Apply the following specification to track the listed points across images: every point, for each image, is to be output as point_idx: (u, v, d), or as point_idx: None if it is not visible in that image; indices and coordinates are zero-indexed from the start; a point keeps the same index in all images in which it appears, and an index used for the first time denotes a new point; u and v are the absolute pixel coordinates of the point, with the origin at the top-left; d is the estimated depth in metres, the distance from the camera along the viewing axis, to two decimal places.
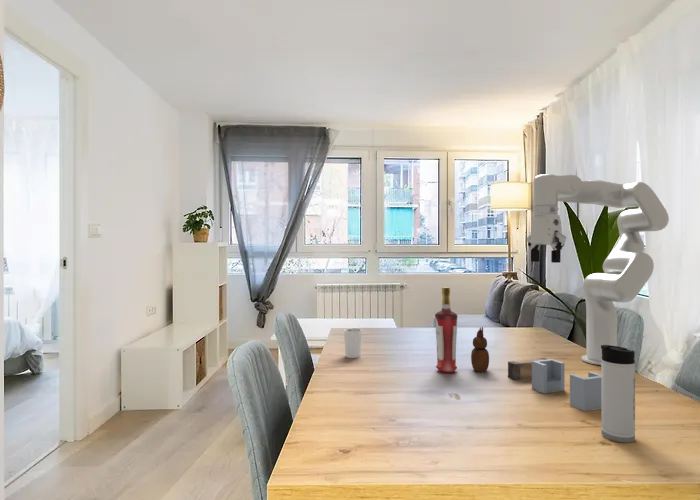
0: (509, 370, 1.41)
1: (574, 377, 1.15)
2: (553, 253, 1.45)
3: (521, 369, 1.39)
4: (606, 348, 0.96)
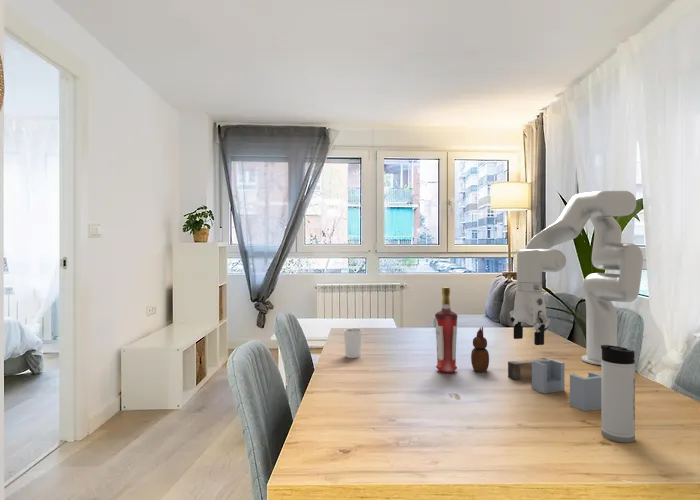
0: (509, 370, 1.41)
1: (574, 377, 1.15)
2: (536, 335, 1.36)
3: (521, 369, 1.39)
4: (606, 348, 0.96)
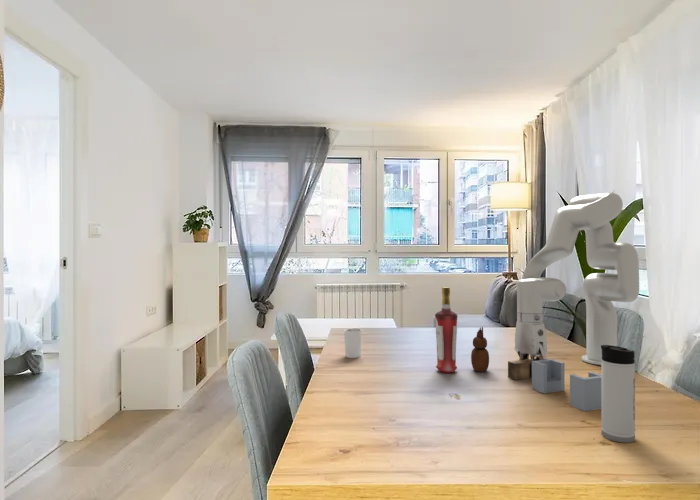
0: (509, 370, 1.41)
1: (574, 377, 1.15)
2: (531, 368, 1.39)
3: (521, 369, 1.39)
4: (606, 348, 0.96)
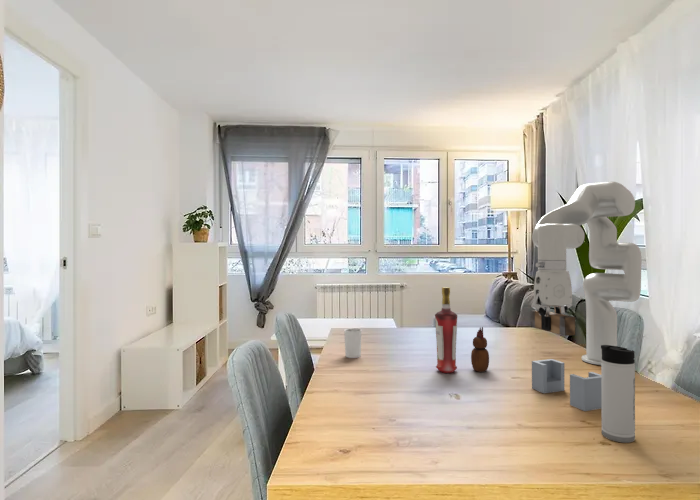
0: None
1: (574, 377, 1.15)
2: None
3: (535, 317, 1.33)
4: (606, 348, 0.96)
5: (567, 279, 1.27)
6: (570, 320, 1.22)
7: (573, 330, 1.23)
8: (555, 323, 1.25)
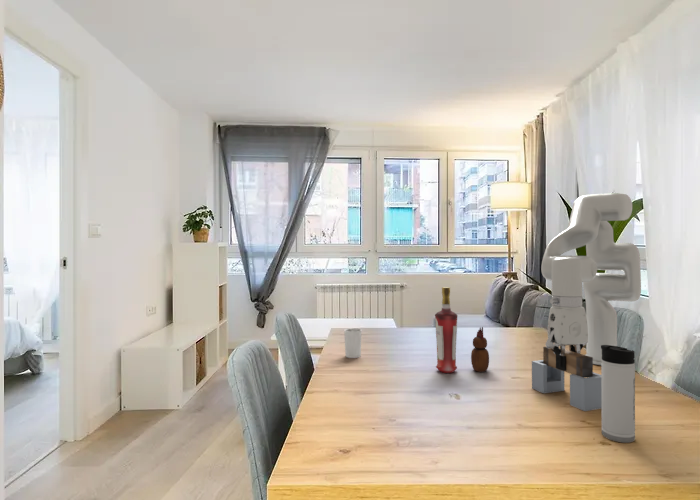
0: None
1: (574, 377, 1.15)
2: None
3: (549, 355, 1.26)
4: (606, 348, 0.96)
5: (583, 315, 1.21)
6: (587, 361, 1.15)
7: (591, 371, 1.16)
8: (571, 363, 1.18)
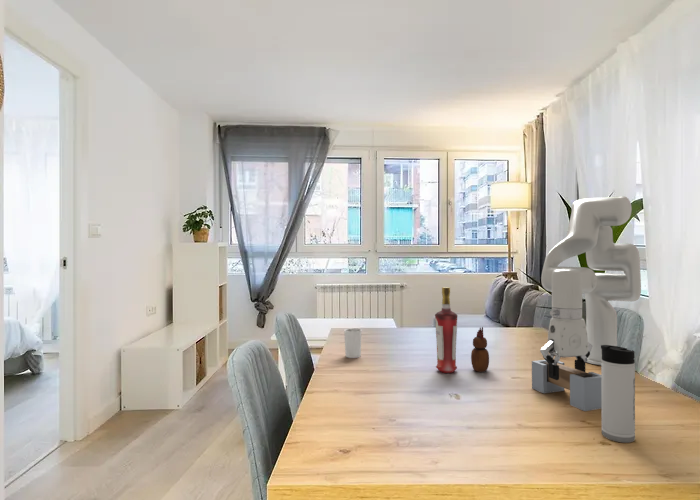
0: None
1: (574, 377, 1.15)
2: None
3: None
4: (606, 348, 0.96)
5: (583, 327, 1.21)
6: None
7: None
8: None
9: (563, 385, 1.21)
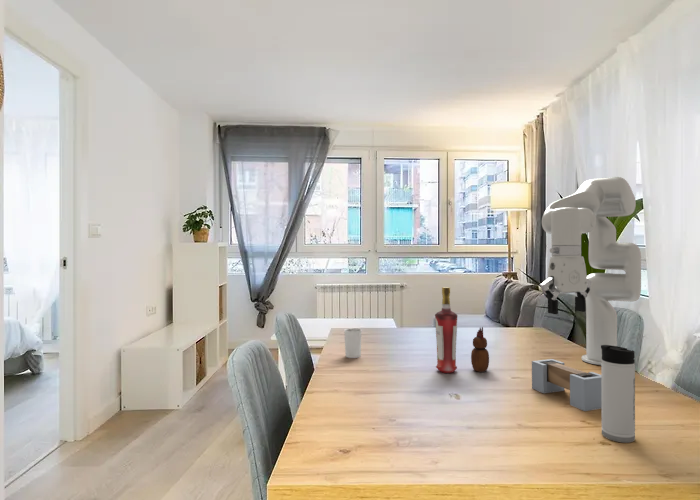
0: None
1: (574, 377, 1.15)
2: None
3: (549, 371, 1.26)
4: (606, 348, 0.96)
5: (582, 264, 1.24)
6: None
7: None
8: None
9: (563, 385, 1.21)
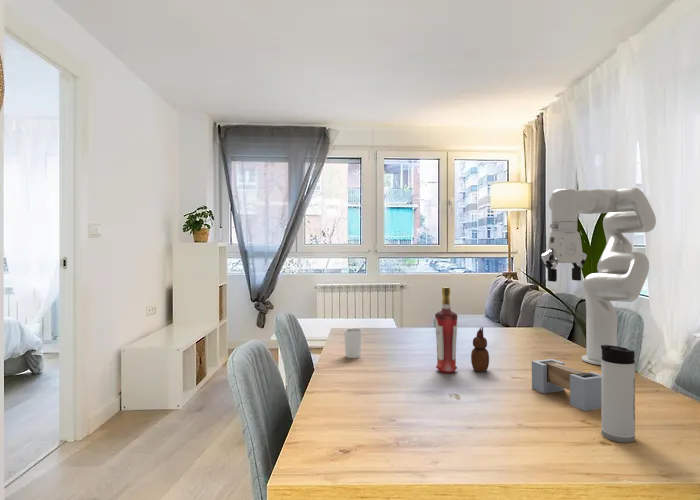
0: None
1: (574, 377, 1.15)
2: None
3: (549, 371, 1.26)
4: (606, 348, 0.96)
5: (578, 238, 1.42)
6: None
7: None
8: None
9: (563, 385, 1.21)
